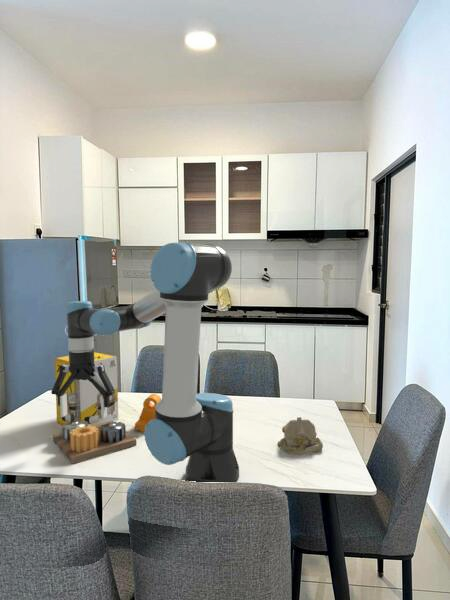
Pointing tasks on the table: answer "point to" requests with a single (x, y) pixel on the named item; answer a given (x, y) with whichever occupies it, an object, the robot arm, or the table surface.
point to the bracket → (147, 412)
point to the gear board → (97, 451)
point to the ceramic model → (300, 437)
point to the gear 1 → (71, 427)
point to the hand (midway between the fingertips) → (84, 416)
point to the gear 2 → (112, 432)
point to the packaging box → (88, 393)
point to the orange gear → (84, 438)
